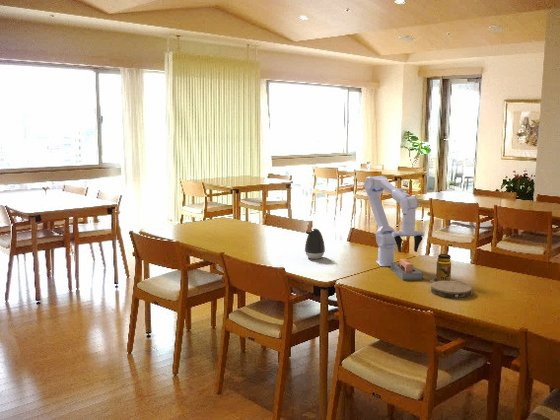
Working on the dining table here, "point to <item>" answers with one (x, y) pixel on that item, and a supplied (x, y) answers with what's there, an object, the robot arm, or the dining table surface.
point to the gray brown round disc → (451, 289)
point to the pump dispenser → (314, 244)
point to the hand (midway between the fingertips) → (407, 251)
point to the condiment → (443, 268)
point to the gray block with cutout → (406, 275)
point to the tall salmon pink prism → (406, 265)
